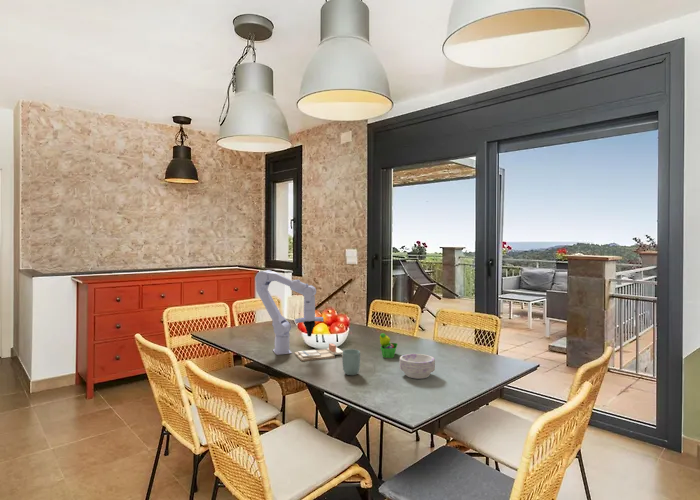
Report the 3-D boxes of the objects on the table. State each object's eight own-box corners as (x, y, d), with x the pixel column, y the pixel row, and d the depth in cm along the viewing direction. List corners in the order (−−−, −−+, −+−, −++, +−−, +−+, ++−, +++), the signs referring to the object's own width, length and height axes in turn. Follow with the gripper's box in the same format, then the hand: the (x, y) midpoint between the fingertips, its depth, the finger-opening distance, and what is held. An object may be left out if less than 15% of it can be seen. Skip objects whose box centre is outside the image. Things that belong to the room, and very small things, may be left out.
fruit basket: (395, 359, 207) (395, 336, 207) (377, 357, 209) (378, 335, 209) (397, 353, 218) (397, 331, 218) (380, 351, 220) (380, 330, 220)
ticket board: (294, 354, 215) (294, 350, 215) (325, 350, 221) (325, 347, 221) (301, 361, 202) (301, 357, 202) (334, 357, 208) (334, 354, 208)
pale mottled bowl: (410, 368, 193) (411, 351, 193) (440, 375, 183) (441, 357, 183) (392, 376, 181) (392, 358, 181) (423, 384, 171) (423, 364, 171)
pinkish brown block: (326, 349, 219) (327, 342, 219) (336, 348, 221) (337, 341, 221) (333, 354, 210) (333, 347, 210) (343, 353, 212) (343, 346, 212)
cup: (344, 377, 179) (345, 354, 178) (340, 372, 186) (340, 349, 186) (362, 376, 181) (362, 353, 180) (357, 370, 188) (357, 348, 188)
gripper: (297, 311, 207) (297, 338, 208) (325, 309, 213) (325, 336, 213) (294, 309, 214) (293, 335, 214) (321, 307, 220) (320, 333, 220)
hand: (309, 335), depth 214 cm, fingers closed
